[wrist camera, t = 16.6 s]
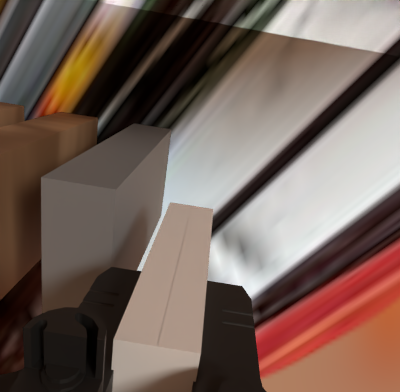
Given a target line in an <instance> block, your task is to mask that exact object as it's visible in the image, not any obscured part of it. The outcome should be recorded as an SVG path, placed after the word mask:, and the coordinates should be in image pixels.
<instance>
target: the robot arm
mask: <svg viewBox="0 0 400 392" xmlns="http://www.w3.org/2000/svg"><path fill="white" fill-rule="evenodd" d="M212 217H213V209H209V208H202V207H196V206H190V205H183V204H177V203H171V202H170V204H169V207H168V209H167V212H166V214H165V216H164V219H163V221H162V224H161V226H160V229H159V231H158V233H157V236H156V238H155V241H154V243H153V245H152V248H151V250H150V253H149V255H148V257H147V260H146V262H145V265H144V267H143V269H142V272H141V271H135V270H129V269H123V268H116V267H111V268H109V269H108V270H106V271H105V272H103V273H102V274H100V275H99V276H97V278H96V279H95V281H94V283H93V284H92V286H91V287H90V290H89V292H87V294H86V296H85V297H84V299H83V302H82V303H81V304H80V305H79V307H78V308H74V307H63V308H58V309H54V310H49V311H47V312H45V313H42V314H40V315H38V316H36V317H34V318H33V319H32V320H31V321H30V322H29V323H27V324H26V325H25V326H24V327H23V342H24V369H22V370H19V371H17V372H13V373H8V374H3V375H0V392H266V391H265V390H264V388H263V387H262V383H261V379H260V372H259V363H258V355H257V346H256V337H255V329H254V320H253V311H252V302H251V298H250V297H249V296H248V294H247V293H246V291H245V290H244V288H243V287H242V286H237V285H231V284H224V283H218V282H212V281H207V276H208V264H209V252H210V241H211V229H212Z"/></svg>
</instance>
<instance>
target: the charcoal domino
mask: <svg viewBox="0 0 400 392" xmlns="http://www.w3.org/2000/svg"><path fill="white" fill-rule="evenodd" d="M170 137H171V129H166V128H159V127H153V126H147V125H141V124H135V123H134V124H132V125H131V126H129V127H127V128H125V129H124V130H122V131H120V132H118V133H117V134H115V135H113V136H112V137H110V138H108V139H106V140H105V141H103V142H101V143H99V144H98V145H96V146H94V147H92V148H91V149H89V150H87V151H86V152H84V153H82V154H80V155H79V156H77V157H75V158H73V159H72V160H70V161H68V162H67V163H65V164H63V165H61V166H60V167H58V168H56V169H54V170H53V171H51V172H49V173H48V174H46V175H44V176H42V177H41V244H42V313H45V312H47V311H49V310H54V309H58V308H63V307H74V308H78V307H79V305H80V304H81V303H82V302H83V299H84V297H85V296H86V294H87V292H89V290H90V287H91V286H92V284H93V283H94V281H95V279H96V278H97V276H99V275H100V274H102V273H103V272H105V271H106V270H108V269H109V268H111V267H116V268H123V269H129V270H135V271H137V268H138V266H139V264H140V262H141V259H142V257H143V255H144V253H145V250H146V248H147V246H148V244H149V241H150V239H151V237H152V235H153V232H154V230H155V228H156V226H157V223H158V221H159V219H160V217H161V211H162V203H163V195H164V187H165V178H166V170H167V162H168V153H169V145H170Z"/></svg>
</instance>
